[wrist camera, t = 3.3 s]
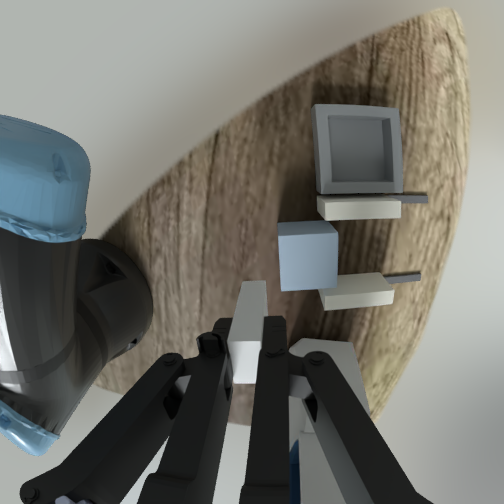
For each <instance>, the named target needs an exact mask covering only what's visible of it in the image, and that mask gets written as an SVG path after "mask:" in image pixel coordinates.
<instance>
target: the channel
mask: <svg viewBox="0 0 504 504" xmlns="http://www.w3.org/2000/svg"><path fill="white" fill-rule="evenodd" d="M317 211H318V212H319V213H320V215H321V216H322V217H323V218H324V219H325V221H330V220H354V219H384V218H401V201H400V200H397V199H394V198H392V197H389V196H386V195H384V194H357V195H321V196H317ZM318 291H319V294H320V297H321V301H322V304H323V307H324V310H337V309H348V308H359V307H369V306H378V305H387V304H393V297H394V289H393V288H392V287H391V285H390V284H389V283H388V282H387V281H386V279H385V278H384V277H383V276H382V275H381V273H380V272H375V273H362V274H349V275H337V288H324V289H318Z"/></svg>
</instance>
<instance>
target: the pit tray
mask: <svg viewBox="0 0 504 504" xmlns="http://www.w3.org/2000/svg"><path fill="white" fill-rule="evenodd" d="M311 119H312V130H313V142H314V156H315V172H316V191H318V192H319V193H320V194H343V193H403V163H402V142H401V129H400V118H399V109H398V108H388V107H377V106H363V105H340V104H315V105H314V106H313V107H312V109H311Z"/></svg>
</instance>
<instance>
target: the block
mask: <svg viewBox="0 0 504 504" xmlns="http://www.w3.org/2000/svg"><path fill="white" fill-rule="evenodd" d="M277 226H278V242H279V261H280V279H281V291H292V290H309V289H324V288H337V273H338V232H337V231H336V230H335V229H334V227H333V226H332V225H331V224H330V223H329V222H328V221H325V220H320V221H300V222H282V223H277Z"/></svg>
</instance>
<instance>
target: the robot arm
mask: <svg viewBox="0 0 504 504" xmlns="http://www.w3.org/2000/svg"><path fill="white" fill-rule="evenodd" d="M90 171H91V170H90V163H89V159H88V156H87V155H86V153H85V151H84V150H83V148H82V147H81V146H80V145H79V144H78V143H77V142H75V141H74V140H72V139H71V138H69V137H68V136H66V135H64V134H62V133H59V132H57V131H55V130H52V129H50V128H47V127H44V126H42V125H39V124H36V123H32V122H29V121H26V120H22V119H18V118H14V117H10V116H6V115H0V432H1V433H2V434H3V435H4V436H5V437H7V438H8V439H9V440H10V441H11V442H13V443H14V444H15V445H17V446H18V447H19V448H21V449H22V450H23V451H25V452H27V453H28V454H31V455H34V456H40V455H43V454H45V453H46V452H47V450H48V449H49V448H50V446H51V445H52V444H53V443H54V441H55V440H57V439H59V437H60V432H61V431H62V429H63V428H64V426H65V425H66V423H67V421H68V420H69V418H70V417H71V415H72V413H73V412H74V411H75V409H76V407H77V406H78V404H79V403H80V401H81V399H82V398H83V397H84V395H85V394H86V392H87V391H88V389H89V388H90V386H91V385H92V383H93V382H94V381H95V379H96V378H97V376H98V375H99V373H100V372H101V370H102V369H103V367H104V366H105V365H106V363H108V362H110V361H111V360H113V359H115V358H117V357H118V356H120V355H122V354H123V353H125V352H127V351H128V350H130V349H132V348H133V347H135V346H136V345H137V344H138V343H139V342H140V341H141V340H142V338H143V337H144V335H145V334H146V332H147V330H148V329H149V327H150V324H151V321H152V316H153V304H152V298H151V294H150V291H149V288H148V285H147V283H146V281H145V279H144V277H143V275H142V274H141V272H140V271H139V269H138V268H137V266H136V265H135V264H134V263H133V261H132V260H131V259H130V258H129V257H128V256H127V255H126V254H124V253H123V252H122V251H121V250H119V249H118V248H117V247H115V246H113V245H111V244H109V243H107V242H105V241H102V240H98V239H83V240H81V239H82V235H83V234H84V232H85V231H86V224H87V223H86V214H85V209H86V201H87V194H88V188H89V181H90ZM196 341H197V345H198V349H199V355H198V356H197V357H193V358H188V359H183V357H182V356H181V355H180V354H178V353H167V354H164V355H162V356H161V357H160V358H158V360H157V361H156V362H155V363H154V364H153V365H152V366H151V367H150V368H149V369H148V370H147V371H146V373H145V374H144V375H143V376H142V377H141V378H140V379H139V380H138V381H137V382H136V383H135V384H134V386H133V387H132V388H131V389H130V390H129V391H128V392H127V393H126V394H125V395H124V396H123V397H122V399H121V400H120V401H119V402H118V403H117V404H116V405H115V406H114V407H113V408H112V409H111V410H110V411H109V413H108V414H107V415H106V416H105V417H104V418H103V419H102V420H101V421H100V422H99V423H98V424H97V425H96V427H95V428H94V429H93V430H92V431H91V432H90V433H89V434H88V435H87V437H85V438H84V440H82V442H81V443H80V444H79V445H78V446H77V447H76V448H75V449H74V450H73V451H72V452H71V453H70V454H69V456H68V457H67V458H66V459H65V460H64V461H63V462H62V463H61V464H60V465H59V466H57V467H55V468H53V469H51V470H49V471H47V472H45V473H43V474H41V475H39V476H37V477H35V478H33V479H31V480H29V481H27V482H25V483H24V484H23V485H22V487H21V488H20V498H21V500H22V502H23V503H24V504H120V502H121V501H122V500H123V499H124V497H125V496H126V494H127V493H128V492H129V491H130V489H131V488H132V486H133V485H134V484H135V483H136V481H137V480H138V478H139V477H140V476H141V474H142V473H143V472H144V470H145V469H146V467H147V466H148V465H149V463H150V462H151V461H152V459H153V458H154V456H155V455H156V454H157V452H158V451H159V449H160V448H161V446H162V445H163V444H164V442H165V441H166V439H167V438H168V436H169V438H168V441H167V444H166V447H165V450H164V452H163V456H162V458H161V461H160V464H159V467H158V469H157V471H156V472H155V473H151V474H149V475H148V476H147V478H146V480H145V482H144V485H143V488H142V491H141V493H140V496H139V499H138V502H137V504H212V502H213V496H214V490H215V485H216V480H217V474H218V469H219V463H220V459H221V453H222V448H223V442H224V436H225V431H226V426H227V421H228V415H229V410H230V405H231V399H232V394H233V386H232V380H233V379H234V383H256V386H255V395H254V405H253V414H252V423H251V433H250V441H249V450H248V459H247V467H246V475H245V483H244V485H243V486H242V489H241V493H240V499H239V504H289V503H290V485H289V479H290V442H289V396H291V397H296V398H301V400H302V403H303V405H304V408H305V410H306V412H307V415H308V417H309V420H310V422H311V424H312V427H313V429H314V431H315V434H316V436H317V438H318V441H319V443H320V445H321V448H322V450H323V452H324V454H325V457H326V459H327V461H328V464H329V466H330V468H331V471H332V473H333V475H334V477H335V480H336V482H337V484H338V487H339V489H340V491H341V493H342V496H343V498H344V500H345V502H346V504H433V503H432V502H430V501H429V500H427V499H426V498H424V497H423V496H421V495H420V494H419V493H417V492H416V491H415V489H414V487H413V486H412V484H411V483H410V481H409V479H408V478H407V476H406V474H405V473H404V471H403V470H402V468H401V466H400V465H399V463H398V462H397V460H396V458H395V457H394V455H393V453H392V452H391V450H390V449H389V447H388V445H387V444H386V442H385V441H384V439H383V437H382V436H381V434H380V433H379V431H378V430H377V428H376V426H375V425H374V423H373V422H372V420H371V418H370V417H369V415H368V414H367V412H366V411H365V409H364V407H363V406H362V404H361V403H360V401H359V399H358V398H357V396H356V395H355V393H354V392H353V390H352V388H351V387H350V385H349V384H348V382H347V381H346V379H345V377H344V376H343V374H342V373H341V371H340V370H339V368H338V367H337V365H336V363H335V362H334V360H333V359H332V357H331V356H330V355H329V354H328V353H326V352H323V351H312V352H309V353H307V354H306V355H305V356H304V357H299V356H295V355H293V354H291V353H290V352H289V351H288V349H287V336H286V320H285V319H284V318H283V316H268V308H267V294H266V280H263V281H243V282H242V286H241V290H240V293H239V297H238V301H237V305H236V309H235V313H234V317H233V318H220V319H219V320H218V321H216V322H215V324H214V327H213V330H212V332H206V333H203V334H201V335H200V336H198V337H197V339H196Z"/></svg>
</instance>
